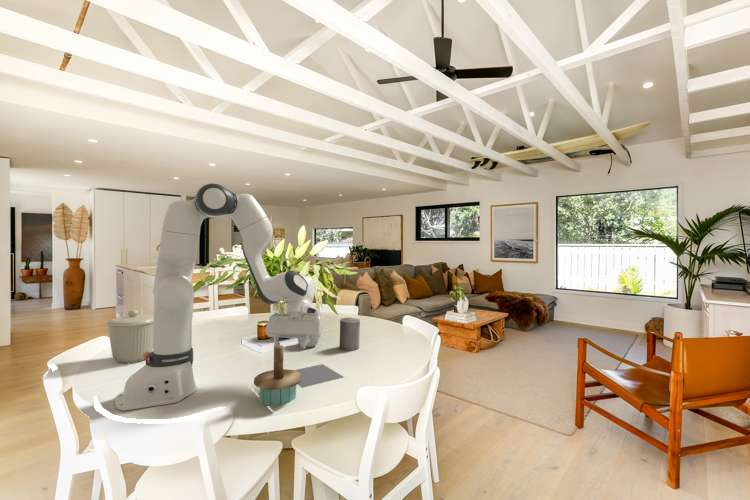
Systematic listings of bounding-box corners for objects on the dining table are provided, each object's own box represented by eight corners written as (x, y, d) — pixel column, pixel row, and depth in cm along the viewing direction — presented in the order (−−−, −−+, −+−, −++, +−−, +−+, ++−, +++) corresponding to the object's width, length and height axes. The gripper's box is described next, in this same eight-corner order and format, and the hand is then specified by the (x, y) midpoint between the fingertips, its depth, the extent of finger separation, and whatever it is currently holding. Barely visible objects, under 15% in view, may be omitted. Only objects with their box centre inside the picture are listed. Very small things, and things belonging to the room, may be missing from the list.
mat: (302, 388, 121) (302, 387, 121) (283, 373, 135) (283, 372, 135) (344, 378, 132) (344, 377, 132) (322, 365, 145) (322, 364, 145)
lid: (251, 391, 105) (251, 355, 104) (256, 373, 119) (256, 341, 119) (302, 387, 108) (303, 352, 108) (301, 370, 123) (301, 339, 123)
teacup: (314, 349, 166) (314, 333, 166) (293, 348, 168) (293, 331, 168) (324, 341, 180) (324, 326, 180) (304, 340, 182) (304, 324, 182)
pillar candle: (335, 346, 171) (336, 316, 171) (352, 343, 177) (352, 314, 177) (346, 352, 164) (347, 320, 163) (363, 348, 170) (364, 317, 169)
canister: (152, 364, 143) (152, 312, 143) (98, 369, 137) (98, 314, 136) (162, 351, 160) (162, 305, 160) (115, 354, 154) (115, 306, 153)
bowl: (267, 409, 106) (267, 389, 106) (255, 396, 115) (255, 378, 115) (301, 400, 113) (301, 381, 113) (287, 388, 122) (287, 371, 121)
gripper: (268, 308, 132) (258, 341, 122) (322, 310, 130) (316, 344, 121) (273, 318, 136) (263, 350, 127) (325, 319, 135) (318, 352, 125)
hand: (289, 347), depth 124 cm, fingers open, 8 cm apart
